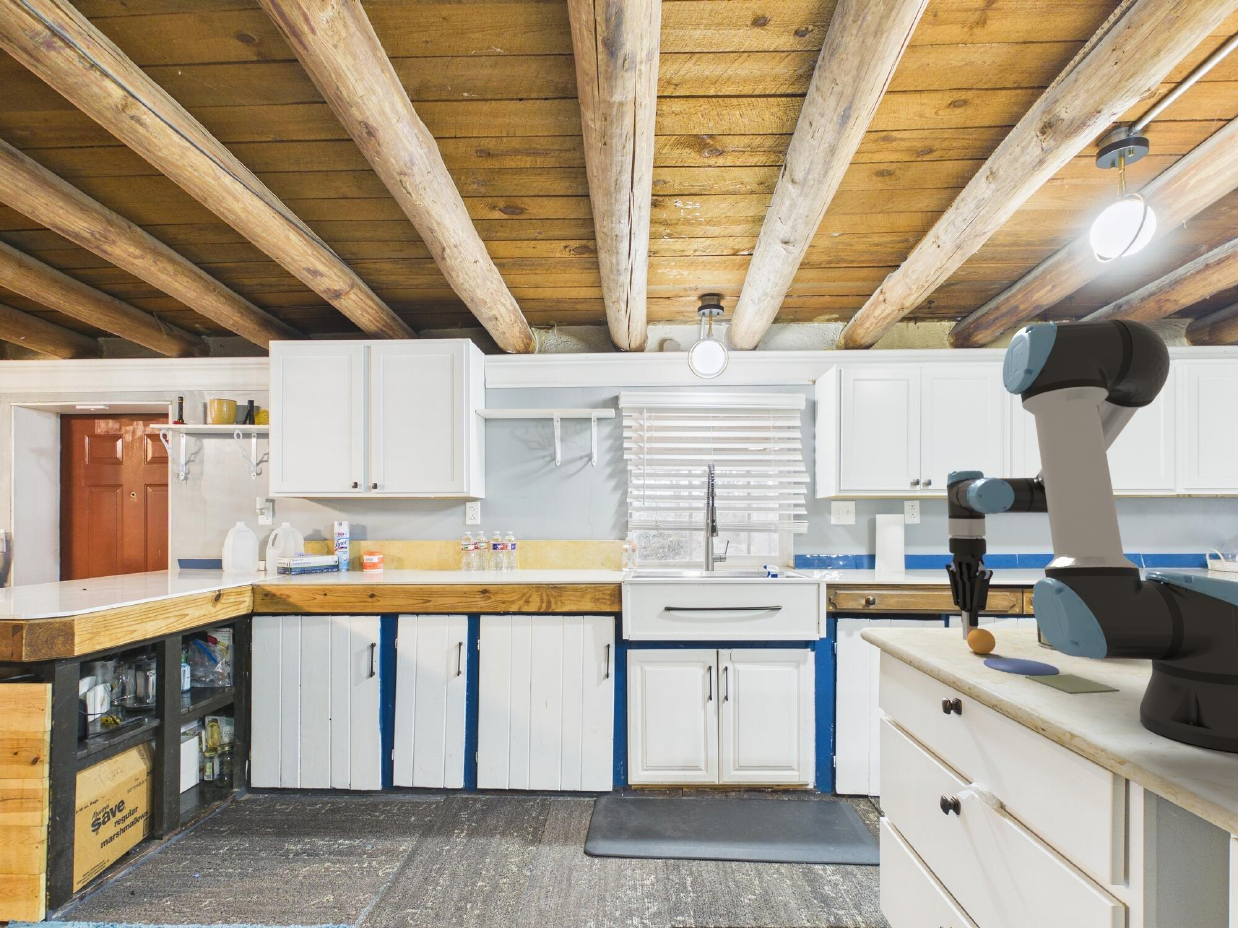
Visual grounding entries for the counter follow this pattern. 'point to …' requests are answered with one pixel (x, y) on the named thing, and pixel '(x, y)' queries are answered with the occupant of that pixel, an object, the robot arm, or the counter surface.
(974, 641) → the ball
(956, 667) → the counter surface
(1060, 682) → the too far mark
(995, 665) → the disc
